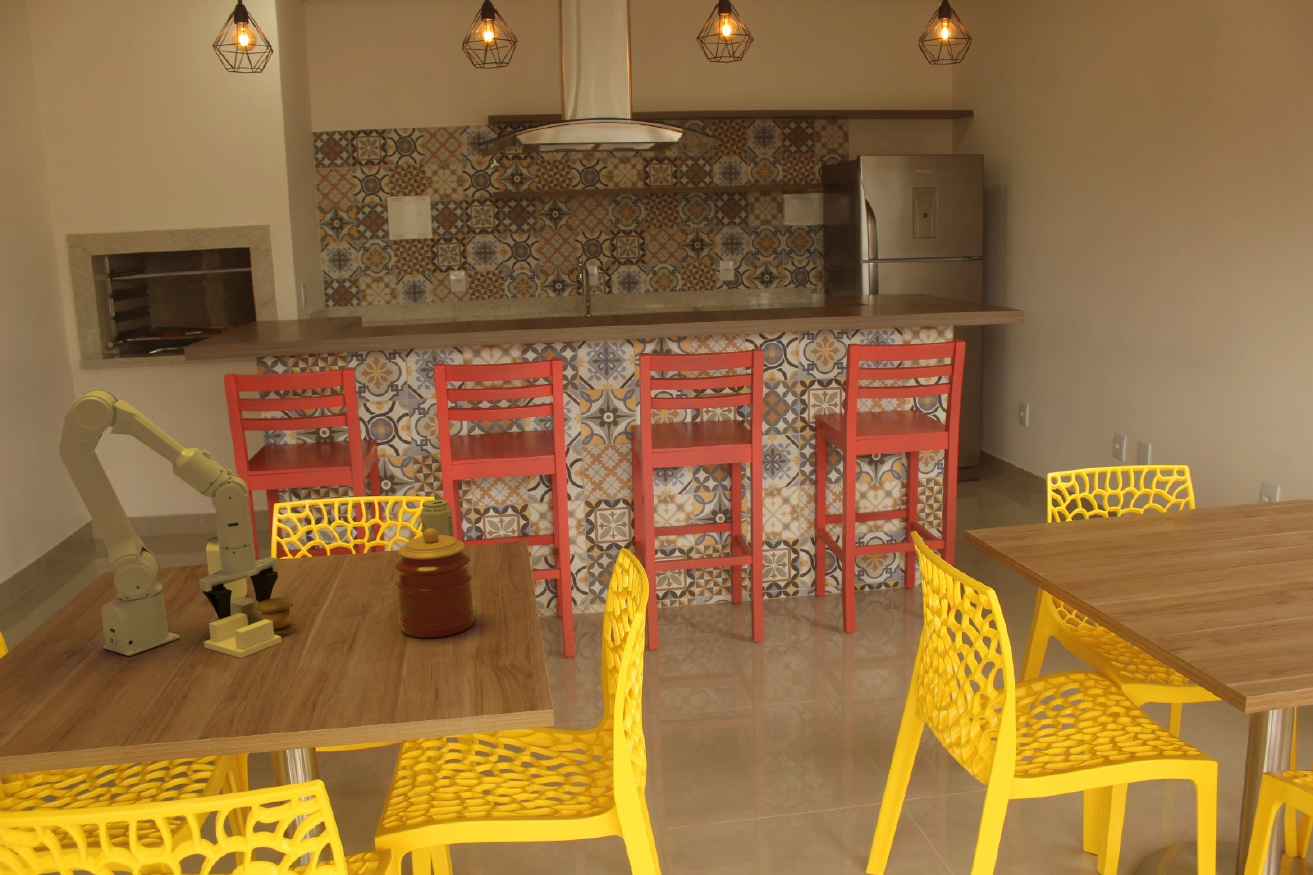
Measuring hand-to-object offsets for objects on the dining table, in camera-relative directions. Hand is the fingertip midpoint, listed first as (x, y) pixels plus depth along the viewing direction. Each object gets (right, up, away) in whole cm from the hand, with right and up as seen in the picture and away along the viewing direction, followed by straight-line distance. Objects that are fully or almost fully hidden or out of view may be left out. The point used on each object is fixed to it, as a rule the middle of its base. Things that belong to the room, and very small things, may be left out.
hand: (245, 618), depth 187 cm
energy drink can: (+29, +4, +27) cm, 40 cm away
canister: (+35, -1, -2) cm, 35 cm away
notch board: (+3, -3, -8) cm, 9 cm away
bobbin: (+7, -2, -2) cm, 7 cm away
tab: (0, -2, 0) cm, 2 cm away
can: (-10, +1, +17) cm, 20 cm away
